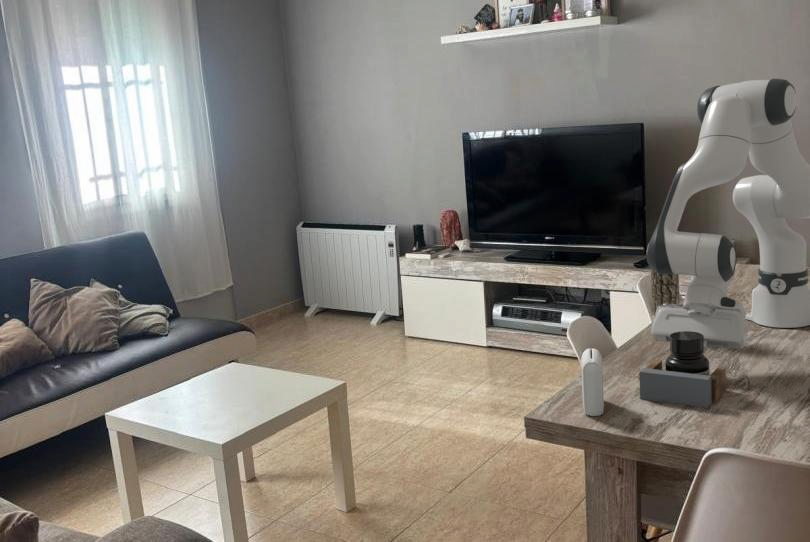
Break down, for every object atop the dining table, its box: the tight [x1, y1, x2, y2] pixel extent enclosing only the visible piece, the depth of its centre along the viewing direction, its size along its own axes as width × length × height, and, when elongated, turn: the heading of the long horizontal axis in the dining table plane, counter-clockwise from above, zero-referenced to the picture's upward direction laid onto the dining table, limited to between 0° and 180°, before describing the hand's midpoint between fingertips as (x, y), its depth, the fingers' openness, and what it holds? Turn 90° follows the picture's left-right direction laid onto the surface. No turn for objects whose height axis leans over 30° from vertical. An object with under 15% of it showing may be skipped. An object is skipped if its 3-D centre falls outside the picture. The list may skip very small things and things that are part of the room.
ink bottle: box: [664, 331, 711, 376], centre depth 176 cm, size 10×9×12 cm
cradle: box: [646, 359, 727, 404], centre depth 175 cm, size 8×15×5 cm, turn 55°
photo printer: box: [580, 348, 605, 417], centre depth 170 cm, size 10×4×12 cm, turn 168°
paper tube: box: [650, 266, 680, 323], centre depth 213 cm, size 7×7×25 cm
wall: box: [638, 367, 713, 409], centre depth 170 cm, size 2×14×6 cm, turn 55°
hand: (691, 360), depth 180 cm, fingers closed, pressing on ink bottle
